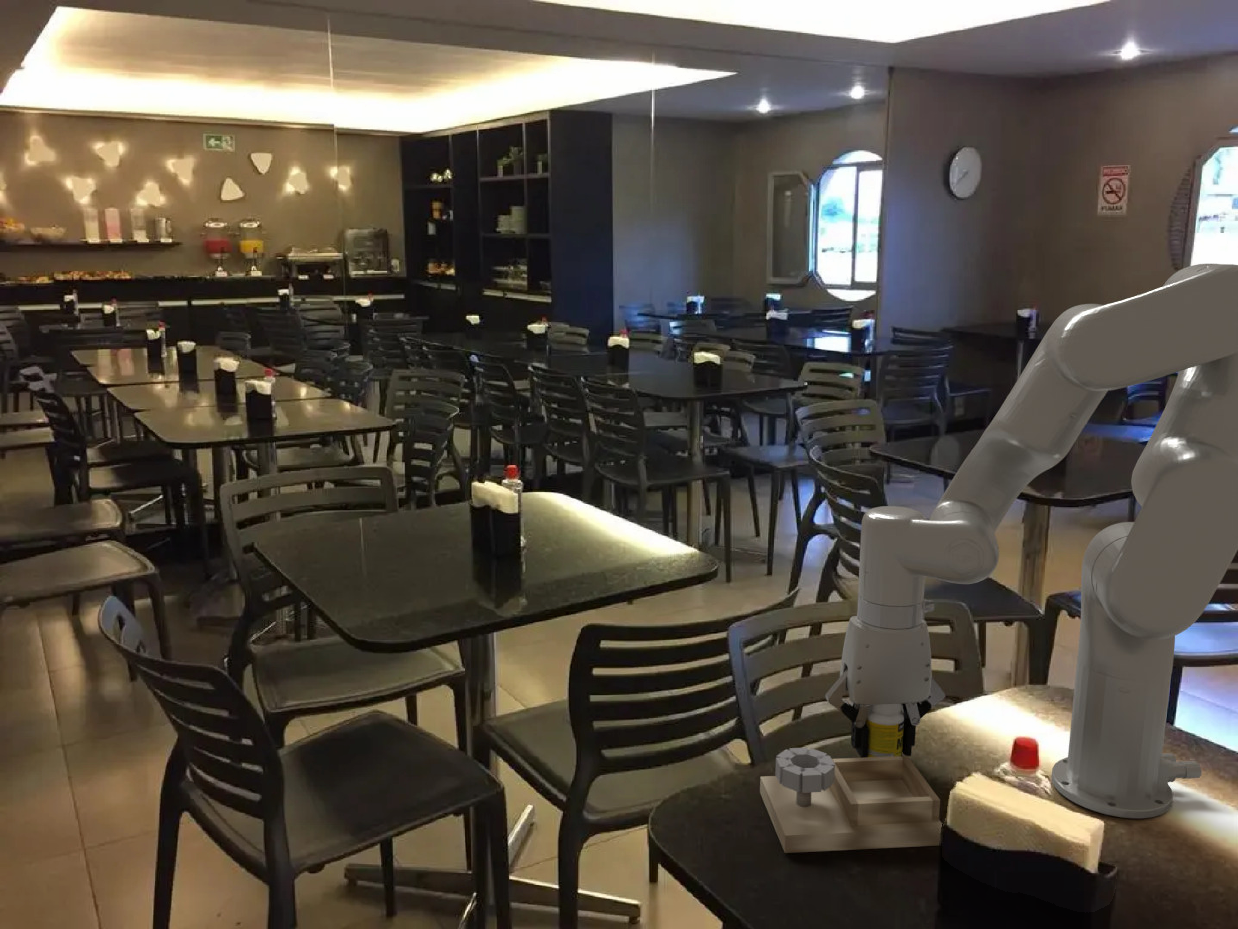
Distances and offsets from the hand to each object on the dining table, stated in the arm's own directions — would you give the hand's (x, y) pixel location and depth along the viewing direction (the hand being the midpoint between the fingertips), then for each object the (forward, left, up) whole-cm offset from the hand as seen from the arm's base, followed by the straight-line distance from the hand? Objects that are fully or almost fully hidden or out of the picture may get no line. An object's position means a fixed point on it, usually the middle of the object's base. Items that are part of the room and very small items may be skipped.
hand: (882, 750), depth 121 cm
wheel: (+13, +12, +4) cm, 18 cm away
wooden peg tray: (+8, +12, -1) cm, 14 cm away
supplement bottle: (0, 0, -2) cm, 2 cm away
